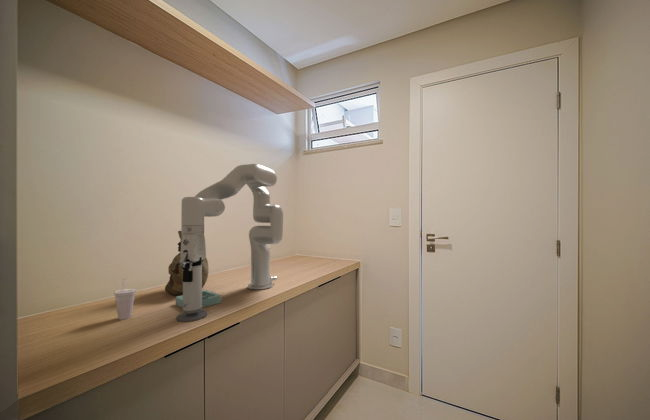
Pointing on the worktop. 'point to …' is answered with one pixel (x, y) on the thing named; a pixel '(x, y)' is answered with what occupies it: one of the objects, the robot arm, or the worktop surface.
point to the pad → (191, 316)
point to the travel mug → (193, 290)
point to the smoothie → (124, 302)
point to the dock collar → (203, 299)
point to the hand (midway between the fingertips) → (192, 278)
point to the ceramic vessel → (181, 274)
